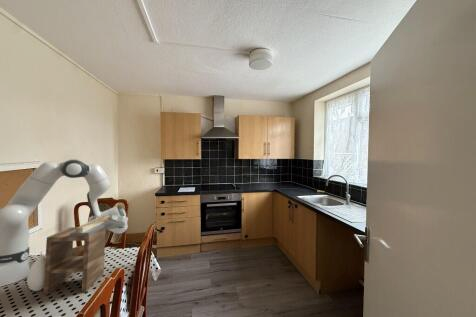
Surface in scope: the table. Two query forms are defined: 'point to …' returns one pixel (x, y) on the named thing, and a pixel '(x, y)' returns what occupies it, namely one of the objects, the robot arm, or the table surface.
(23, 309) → the table surface
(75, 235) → the slate tile
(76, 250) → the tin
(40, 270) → the sauce bottle
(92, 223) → the beech bar
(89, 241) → the walnut stand
